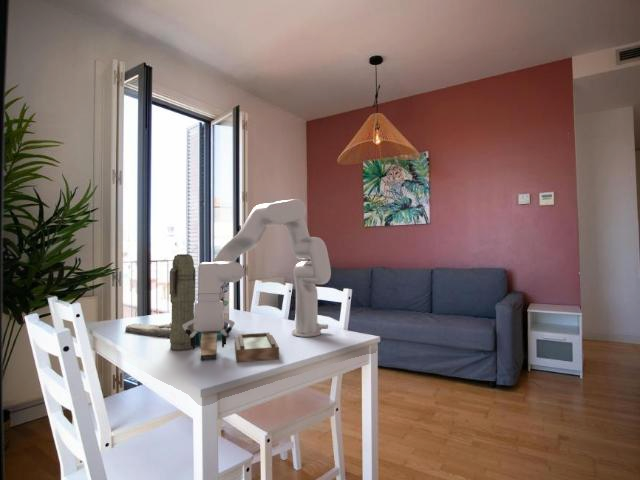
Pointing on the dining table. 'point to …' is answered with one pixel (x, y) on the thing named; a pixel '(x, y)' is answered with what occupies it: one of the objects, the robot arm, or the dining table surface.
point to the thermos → (182, 300)
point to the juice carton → (225, 300)
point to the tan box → (209, 344)
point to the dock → (256, 347)
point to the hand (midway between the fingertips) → (208, 347)
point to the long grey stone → (150, 329)
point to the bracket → (199, 335)
